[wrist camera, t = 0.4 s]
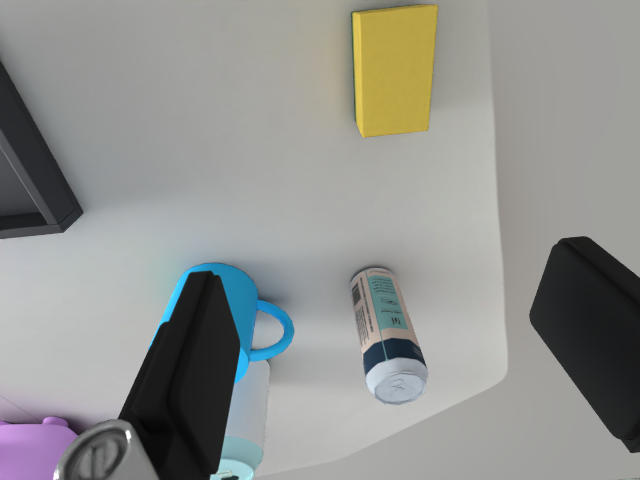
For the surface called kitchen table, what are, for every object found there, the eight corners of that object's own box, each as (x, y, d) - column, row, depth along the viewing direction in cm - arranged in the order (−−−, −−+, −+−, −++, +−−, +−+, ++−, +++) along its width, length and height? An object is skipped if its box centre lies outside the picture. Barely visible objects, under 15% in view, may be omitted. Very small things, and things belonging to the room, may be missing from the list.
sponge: (350, 11, 23) (359, 13, 19) (418, 4, 23) (438, 4, 19) (354, 121, 27) (362, 137, 23) (412, 114, 27) (428, 130, 23)
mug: (178, 318, 37) (151, 387, 31) (175, 258, 33) (142, 323, 26) (289, 328, 39) (287, 396, 32) (301, 272, 35) (301, 338, 28)
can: (282, 360, 42) (276, 470, 32) (250, 388, 45) (235, 497, 35) (231, 337, 40) (208, 449, 30) (200, 368, 42) (169, 480, 32)
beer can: (358, 305, 38) (379, 414, 28) (342, 274, 35) (358, 382, 25) (401, 290, 37) (438, 397, 27) (387, 258, 34) (423, 362, 24)
